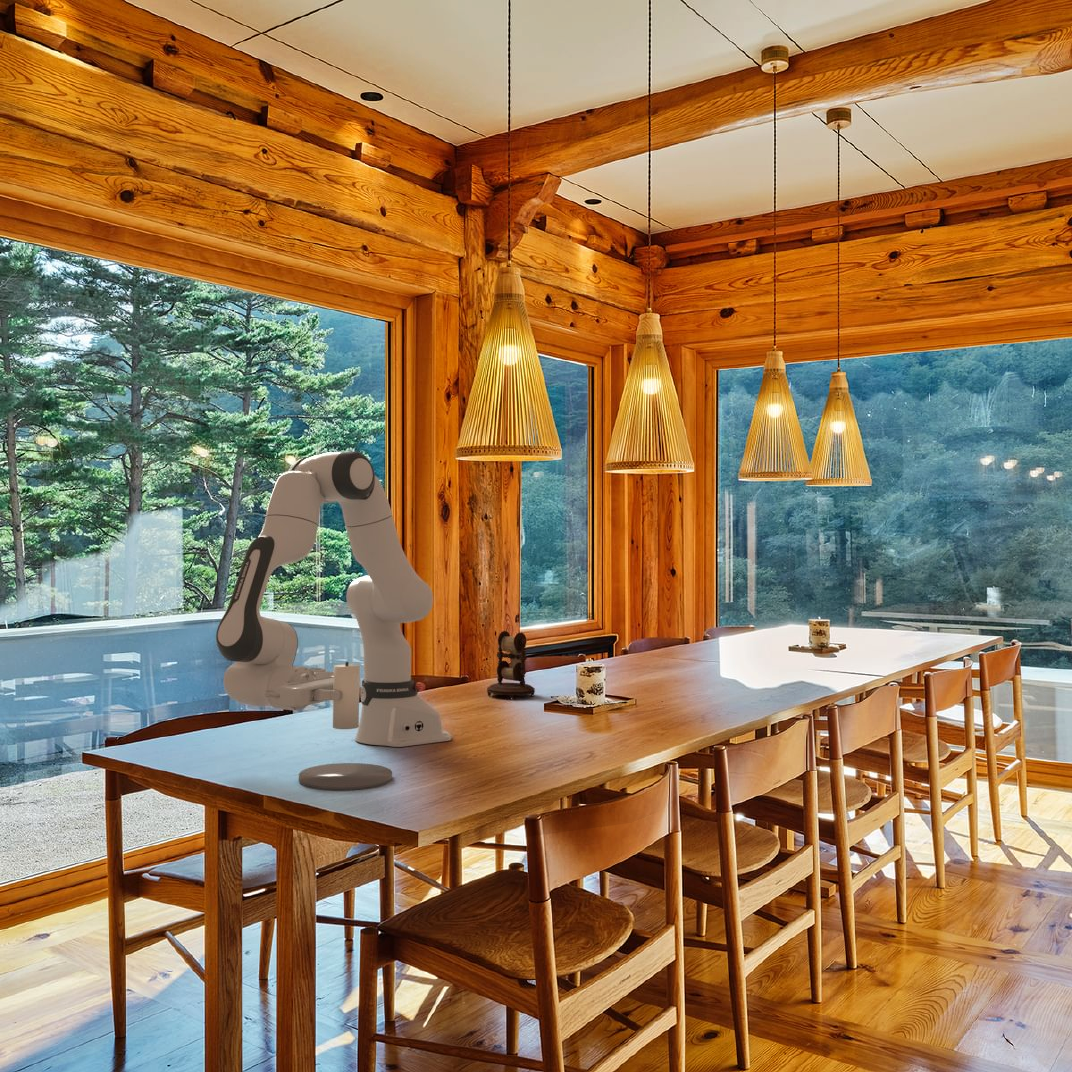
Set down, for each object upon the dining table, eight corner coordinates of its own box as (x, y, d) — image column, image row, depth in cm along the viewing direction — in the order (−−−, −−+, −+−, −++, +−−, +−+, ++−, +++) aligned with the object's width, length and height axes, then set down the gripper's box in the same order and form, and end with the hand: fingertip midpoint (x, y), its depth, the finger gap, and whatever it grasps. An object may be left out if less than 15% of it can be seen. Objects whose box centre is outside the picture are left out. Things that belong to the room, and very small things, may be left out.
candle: (354, 723, 198) (355, 659, 198) (361, 728, 194) (363, 662, 194) (329, 725, 196) (331, 660, 196) (336, 730, 191) (338, 663, 191)
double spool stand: (544, 696, 307) (545, 632, 307) (512, 701, 295) (513, 634, 296) (509, 691, 316) (510, 628, 317) (477, 696, 305) (478, 631, 305)
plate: (375, 765, 207) (375, 760, 207) (405, 785, 191) (405, 778, 191) (288, 773, 198) (288, 767, 198) (312, 794, 182) (312, 787, 182)
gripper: (259, 678, 191) (317, 684, 185) (325, 667, 209) (379, 671, 203) (258, 711, 191) (316, 717, 185) (324, 696, 209) (379, 702, 203)
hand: (350, 693), depth 194 cm, fingers closed on candle, 5 cm apart
